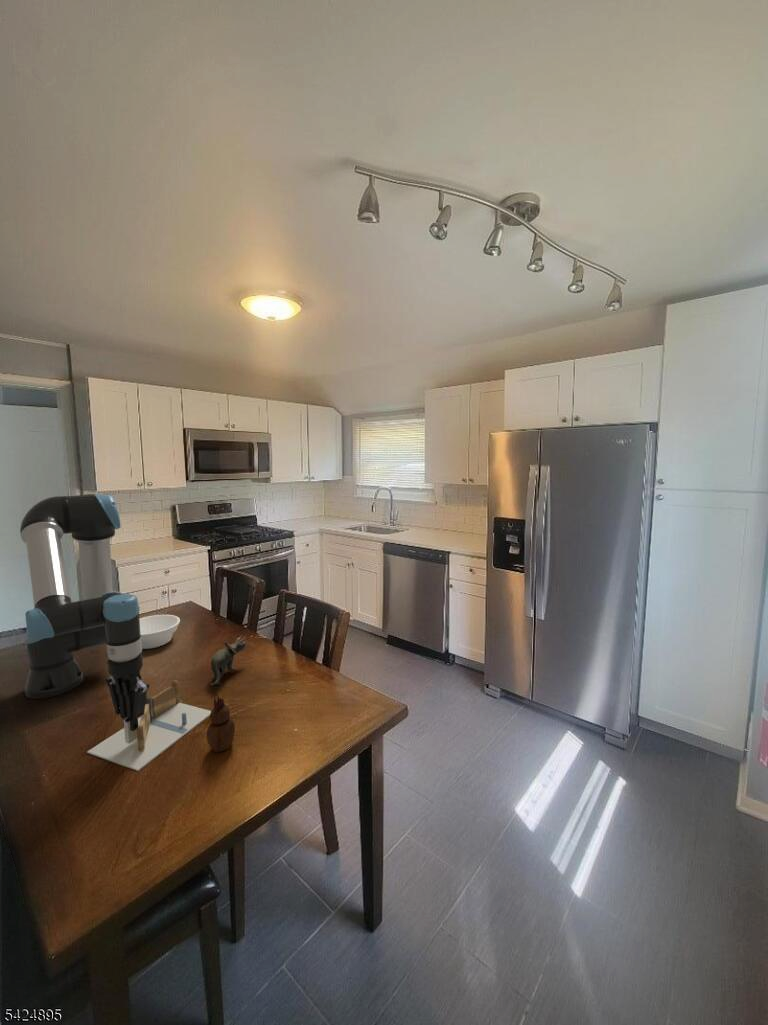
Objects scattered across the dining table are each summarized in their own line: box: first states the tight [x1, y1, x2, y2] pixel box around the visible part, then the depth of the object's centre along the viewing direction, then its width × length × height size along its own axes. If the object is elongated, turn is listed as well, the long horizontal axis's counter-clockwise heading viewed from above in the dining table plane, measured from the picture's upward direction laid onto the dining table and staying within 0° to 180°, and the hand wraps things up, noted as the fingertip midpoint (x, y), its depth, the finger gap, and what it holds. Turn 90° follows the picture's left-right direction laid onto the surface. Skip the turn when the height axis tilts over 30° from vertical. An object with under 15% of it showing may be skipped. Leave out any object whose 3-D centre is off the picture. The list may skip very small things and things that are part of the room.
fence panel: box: [137, 704, 150, 751], centre depth 113 cm, size 12×1×6 cm, turn 22°
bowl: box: [139, 614, 181, 650], centre depth 172 cm, size 21×21×8 cm
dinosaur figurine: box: [209, 634, 247, 686], centre depth 144 cm, size 22×8×11 cm, turn 168°
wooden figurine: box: [206, 696, 236, 753], centre depth 109 cm, size 7×6×15 cm
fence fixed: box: [145, 679, 180, 722], centre depth 125 cm, size 2×11×8 cm, turn 159°
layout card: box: [86, 701, 211, 772], centre depth 116 cm, size 18×25×3 cm
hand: (131, 739), depth 111 cm, fingers closed
